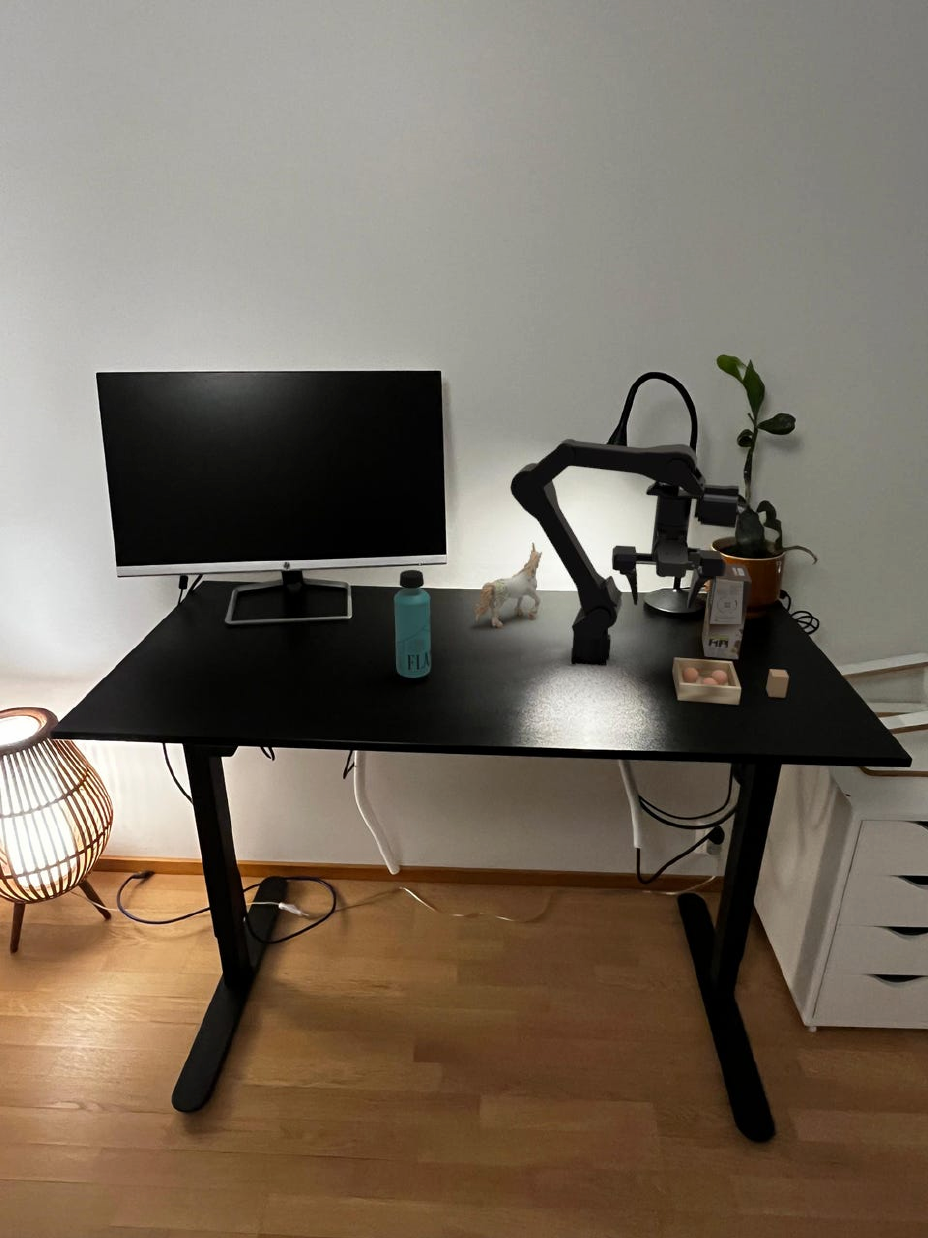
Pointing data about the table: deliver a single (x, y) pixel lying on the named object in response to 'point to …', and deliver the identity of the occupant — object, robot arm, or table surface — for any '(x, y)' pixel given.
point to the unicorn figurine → (511, 590)
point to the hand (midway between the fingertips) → (662, 606)
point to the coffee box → (726, 612)
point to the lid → (777, 683)
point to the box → (704, 691)
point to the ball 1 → (690, 675)
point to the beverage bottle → (412, 626)
